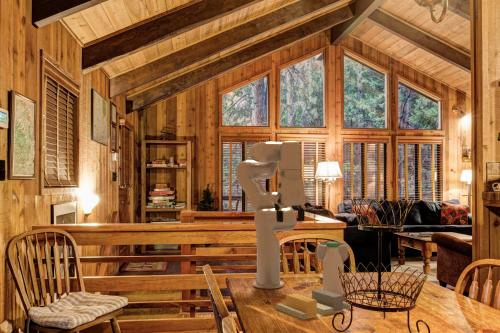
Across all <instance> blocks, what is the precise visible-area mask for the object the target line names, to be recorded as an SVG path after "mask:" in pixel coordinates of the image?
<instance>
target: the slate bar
mask: <svg viewBox="0 0 500 333" xmlns="http://www.w3.org/2000/svg"><path fill="white" fill-rule="evenodd" d="M311 298H312V299H315V300H317V303H320V304H323V305H326V306H329V307H332V308H333V309H334V311H338V310H343V301H344V295H339V294H336V293H332V292H329V291H326V290H323V288H320V289H315V290H311Z"/></svg>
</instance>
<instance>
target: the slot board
mask: <svg viewBox="0 0 500 333" xmlns="http://www.w3.org/2000/svg"><path fill="white" fill-rule="evenodd" d="M346 302H347V301H344V300H343V310H338V311H334V309H333V308H332V307H329V306H326V305H323V304H320V303H317V315H312V316H307V314H306V313H304V312H302V311H299V310H296V309H294V308H291V307H288V306H286V304H282V303H281V302H280V303H276V304H275V310H277V311H281V312H283V313H286V314H288V315H290V316H293V317H295V318H298V319H300V320H303V321H304V320H308V319H311V318H318V317H323V316H326V315H331V314H337V313H341V312H347V311H351V310H350V305H349V304H347V303H348V302H347V303H346Z"/></svg>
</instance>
